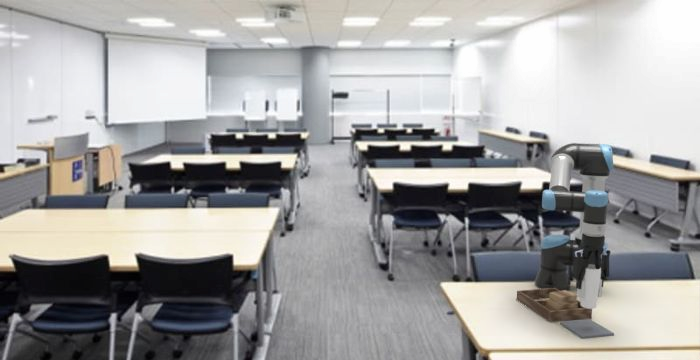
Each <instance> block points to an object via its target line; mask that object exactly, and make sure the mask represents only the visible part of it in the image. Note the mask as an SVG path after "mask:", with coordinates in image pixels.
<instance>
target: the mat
mask: <svg viewBox="0 0 700 360" xmlns="http://www.w3.org/2000/svg"><path fill="white" fill-rule="evenodd" d="M559 325H560V326H562V327H564V328H565V329H567V330H568V331H570V332H571V333H573V334H574V335H575V336H578V337H579V338H580V339H584V340H585V339H591V338H592V339H593V338H600V337H601V338H602V337H611V336H615V332H613V331H611V330H610V329H607V328H605V326H603V325H601V324H599V323H598V322H596V321H594V320H592V318H589V319H578V320H567V321H559Z"/></svg>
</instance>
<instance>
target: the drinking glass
mask: <svg viewBox="0 0 700 360" xmlns="http://www.w3.org/2000/svg"><path fill="white" fill-rule="evenodd" d="M600 279H601V267H600V269H596V268H595V265H591V264H588V267H587V268H586V272H585V275H584V278H583V280H584V281H585V284H584V297H583V299H581V298H580V300H579V301H580V305H581V306H582V307H583V308H587V309H592V310H593V309H596V307H597V302H598V298H599V297H598V291H599V285H600Z"/></svg>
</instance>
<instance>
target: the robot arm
mask: <svg viewBox="0 0 700 360" xmlns="http://www.w3.org/2000/svg"><path fill="white" fill-rule="evenodd" d="M549 166H550V168H551V173H550V180H549V185H548V186H549V188H548V189H544V190H543V191H542V196H541V197H542V198H541V199H542V200H541V207H542V209H544V210H550V211H560V212H562V211H564V212H575V213H580V217H579V219H580V220H579V232H578V233H577V234H576V235H575V236H574V239H571V237H570V236H569V235H567V234H566V235H565V234H550V235H546V236H544V237H543V238H542V239H541V244H540V249H541V250H540V261H539V270H538V272H537V275H536V276H535V279H534V285H536V286H537V288H538V287H539V288H538V289H540V288H541V289H546V288H556V289H558V290H560V291H563V290H566V291H570V290H571V289H570V288H571V287H572V282H571V280H570V277H571V278H573V279H575V288H576V290H577V291H576V295H577V298H580V300H581V299H583V297H584V284H585V281H584V280H583V278H584V275H585V272H586V268H587V267H588V264H591V265H595V268H596V269H600V267H601V279H600V285H599V291H598V297H597V298H601V297H602V288H603V287H604V281H605V280H607V278H609V277H610V256H611V250H609V249H608V242H606V239H605V238H606V237H605V234H606V227H607V216H608V215H607V214H608V204H609V194H608V193H607V192H606V191H605V184H606V183H605V182H606V180H607V179H608V178H609V177H610V173H614V156H613V148H612V146H611V145H609V144H605V143H604V144H603V143H577V142H572V143H568V144H565V145H562V146H561V147H559V148H558V149H556V151H554V152H553V154H552V155H551V157H550V160H549ZM572 171H579V175H580V177H581V178H582V187H581V188H582V190H581V191H574V190H573V191H572V190H571V189H570V188H571V176H572V175H571V174H572ZM570 190H571V191H570ZM568 267H572V268H571V269H572V270H571V276H569V272H568V270H569V268H568ZM536 286H535V287H536Z"/></svg>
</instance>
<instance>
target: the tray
mask: <svg viewBox="0 0 700 360" xmlns="http://www.w3.org/2000/svg"><path fill="white" fill-rule="evenodd" d="M557 291H560V290H558V289H556V288H546V289H540V288H536V289H534V288H533V289H521V290H520V289H519V290H516V301H517V300H518V301H517V302H519V301H520V302H521V303H520V302H519V303H520V304H522V303H523V304H524V305H523V304H522V305H523V306H525V305H526V306H527V308H528V309H529V308H530V310H531V311H533V312H534V313H536V314H537V315H539V316H540V317H542V318H543V319H545V320H546V321H548V322H549V323H555V322H567V321H577V320H588V319H592V318H593V317H592V315H593V309H587V308H583V307H582V306H581V305H580V300H578V299H577V301H576V302H577V303H578V306H577V309H566V310H555V311H551V310H549V309H548V308H546V307H545V306H546V299H549V294H550V292H557ZM539 298H545V299H539ZM526 306H525V307H526Z"/></svg>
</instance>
